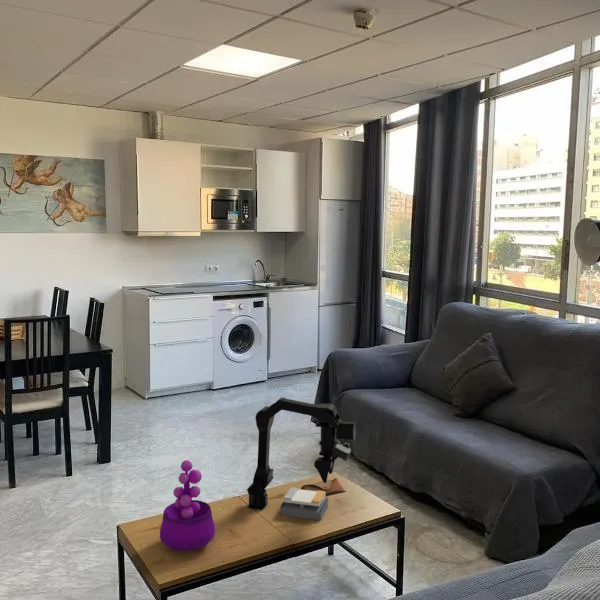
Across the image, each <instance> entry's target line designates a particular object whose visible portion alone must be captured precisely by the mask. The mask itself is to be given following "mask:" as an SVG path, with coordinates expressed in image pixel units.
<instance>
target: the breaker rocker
mask: <svg viewBox="0 0 600 600" xmlns="http://www.w3.org/2000/svg"><path fill="white" fill-rule="evenodd" d="M325 495H326V492H325V491H309V490H301V488H299V487H293V486H291V487H289V489H288V491H287V492H286V494H285V495H284V496H283V501H282V503H283V502H288V503H296V504H304V505H311V506H320V504H321V502H322V500H323V499H325V497H326V496H325Z"/></svg>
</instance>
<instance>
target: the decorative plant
mask: <svg viewBox="0 0 600 600" xmlns="http://www.w3.org/2000/svg"><path fill="white" fill-rule="evenodd" d="M192 468H193V463H192V461H190V460H188V459H185V460H183V461H182V462H181V465H180V469H181V470H182V472H181V473H180V474H179V476H178V482H179V483H180V484H182V485H183V487H182V486H177V487H175V488H174V490H173V496H174V497H175V498H176V499H175V502H173V503H171V504H169V505H168V506H166V507H165V508H164V510H163V514H162V520H161V525H160V529H159V539H160V542H161V543H163V544H164V546H165V547H167V548H168V549H170V550H173V551H178V552H179V551H180V552H186V551H187V552H188V551H195V550H199V549H201V548H203V547H205V546H207V545H208V544H209V543H210V542H211V541H212V540H213V539H214V537H215V535H216V525H215V522H214V519H213V514H212V508H211V506H210V504H208V503H207V502H204V501H203V500H196V499H193V498H198V497H199V496H200V494H201V488H200V487H199V486H197V484H198V483H200V482H201V481H202V476H203V475H202V472H201V471H200V470H198V469H192ZM191 484H193V485H192V486H191ZM195 484H196V485H195Z"/></svg>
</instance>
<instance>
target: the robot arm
mask: <svg viewBox="0 0 600 600" xmlns="http://www.w3.org/2000/svg"><path fill="white" fill-rule="evenodd" d="M281 411H285V412H291V413H295V414H301V415H304V416H305V415H306V416H311V417H313V418H314V419H316V420H317V422H316V424H314V426H315V428H320V440H319V444H318V445H319V446H320V451H319V452H318V455H319V456H318V457H317V458H316V459H315V461H314V463H313V467H314V469H316V470H317V472H318V474H319V476H320V477H321V480H322V482H324V483H326V482H327V481H328V476H329V474H331V475H332V474H333V470H334V466H335V462H336V460H337V459H338V458H340V459H342V461H347V460H348V459H349V457H350V455H351V451H352V450H351V447H350V443H348V442H344V443H343V444H342V443H341V444H339V443H338V442H339V441H341V440H342V441H351V442H355V441H356V437H357V429H356V423H355V422H353V421H343V418H341V415H340V414H339V412H338V409H337V407H336V406H335V405H334V404H332V403H315V404H313V403H309V402H306V401H305V402H304V401H299V400H295V399H290V398H286V397H280V398H278V399H277V400H276V401H275V402H274V403H272V404H271V405H270V406H267V405H266V406H264V407H262V408H261V409H260V410H259V411H257V413H255V424H256V428H257V430H258V442H257V443H258V445H257V466H256V469H255V471H254V475H253V479H252V483H251V484H250V485H249V486H248V487H247V489H246V491H247V493H248V504H247V509H253V510H260V511H262V510H264V509H265V508H266V506H268V504H269V501H268V499H269V498H268V495H269V494H268V493H267V489H266V488H267V487H268V486H269V485H270V484H271V482H272V480H273V479H274V468H271V466H270V443H271V442H270V441H271V429H272V427H273V423H274V422H275V420H274V419H275V417H276V415H277V414H278V413H280V412H281ZM336 437H337V438H336ZM338 439H339V441H338Z"/></svg>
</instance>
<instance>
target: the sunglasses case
mask: <svg viewBox="0 0 600 600" xmlns="http://www.w3.org/2000/svg"><path fill="white" fill-rule="evenodd" d="M300 489H301V490H309V491H325V492H326V495H325V497H328V496H332V495H335V494H341V493H345V492H347V490H345V489H344V488H343V486H342V485H341V483H340V482H339V480H338V478H333V479H329V480H328V479H327V482H326V483H324V482H323V481H318V482H315V483H311V484H304V485H302V486H301V487H300Z"/></svg>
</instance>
